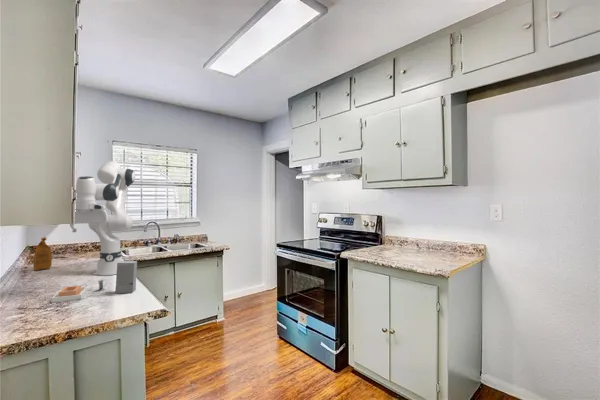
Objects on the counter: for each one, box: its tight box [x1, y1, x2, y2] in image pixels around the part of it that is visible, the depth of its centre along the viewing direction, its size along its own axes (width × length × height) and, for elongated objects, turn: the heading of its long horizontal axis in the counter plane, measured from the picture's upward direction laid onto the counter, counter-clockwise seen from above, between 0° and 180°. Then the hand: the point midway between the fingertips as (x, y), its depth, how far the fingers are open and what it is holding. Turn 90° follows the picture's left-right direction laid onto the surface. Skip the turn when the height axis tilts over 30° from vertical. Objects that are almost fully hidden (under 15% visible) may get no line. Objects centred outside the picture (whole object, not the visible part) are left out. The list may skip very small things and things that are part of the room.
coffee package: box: [33, 236, 53, 271], centre depth 210 cm, size 10×12×22 cm
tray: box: [50, 286, 88, 304], centre depth 148 cm, size 16×11×2 cm
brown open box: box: [59, 285, 82, 297], centre depth 148 cm, size 12×7×4 cm, turn 25°
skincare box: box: [115, 260, 138, 295], centre depth 157 cm, size 8×7×16 cm
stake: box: [97, 280, 105, 292], centre depth 159 cm, size 4×3×5 cm
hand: (85, 231), depth 160 cm, fingers open, 8 cm apart
